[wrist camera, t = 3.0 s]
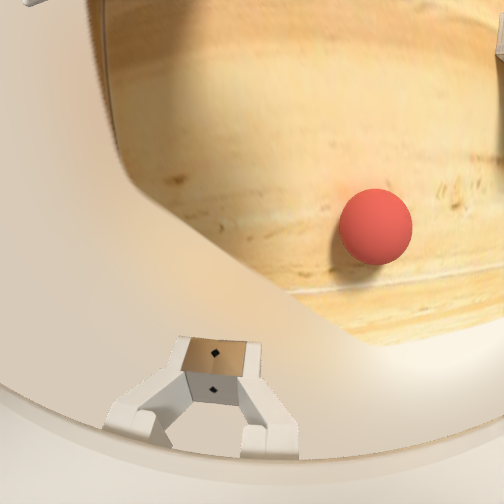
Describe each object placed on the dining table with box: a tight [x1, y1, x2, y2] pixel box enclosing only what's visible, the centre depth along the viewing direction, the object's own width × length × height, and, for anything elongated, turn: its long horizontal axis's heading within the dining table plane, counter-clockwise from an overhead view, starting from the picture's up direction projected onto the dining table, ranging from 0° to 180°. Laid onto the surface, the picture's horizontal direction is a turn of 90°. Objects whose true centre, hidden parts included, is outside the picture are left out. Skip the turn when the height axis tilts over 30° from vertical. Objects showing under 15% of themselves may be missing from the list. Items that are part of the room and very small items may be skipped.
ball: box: [340, 189, 412, 265], centre depth 20 cm, size 6×6×6 cm
